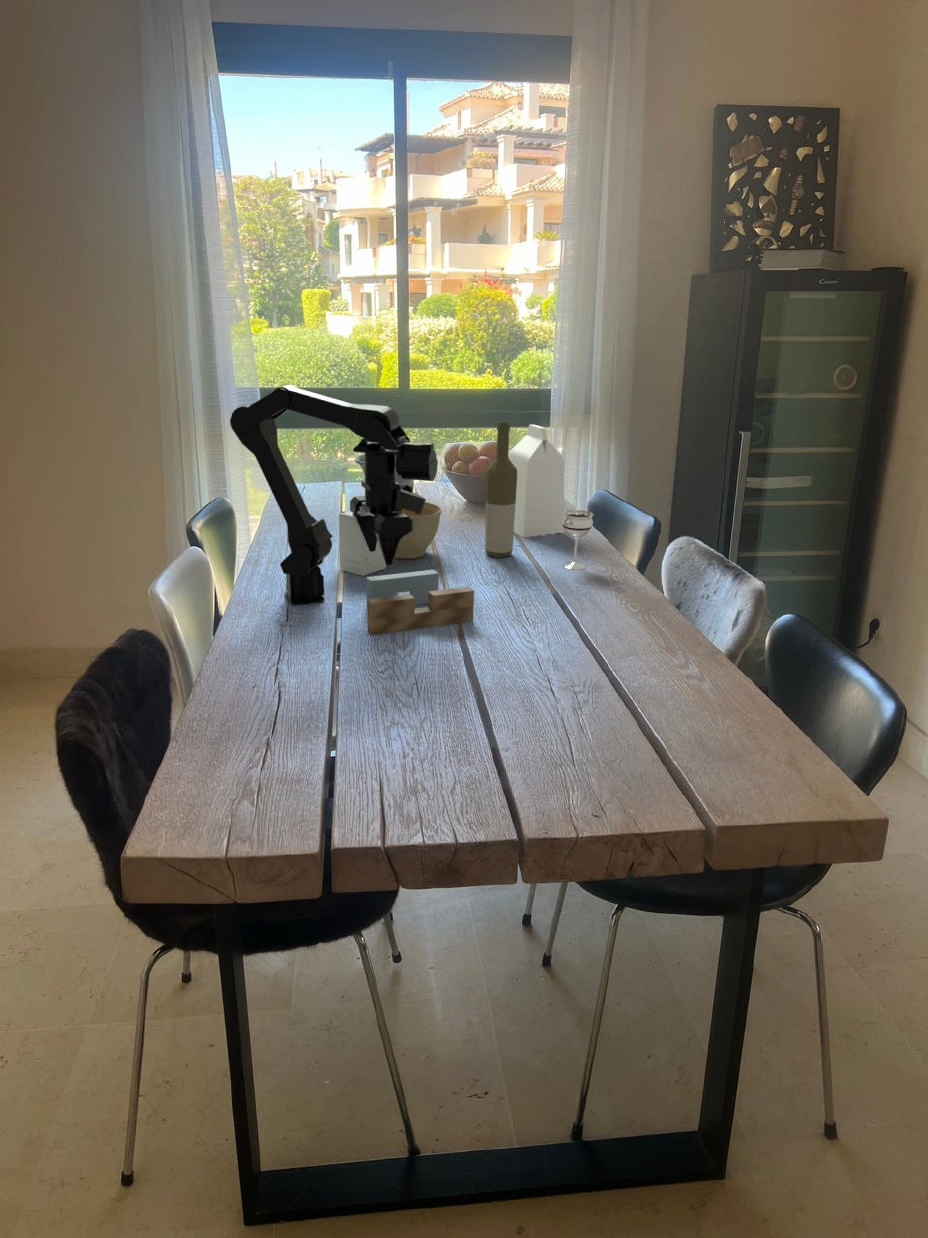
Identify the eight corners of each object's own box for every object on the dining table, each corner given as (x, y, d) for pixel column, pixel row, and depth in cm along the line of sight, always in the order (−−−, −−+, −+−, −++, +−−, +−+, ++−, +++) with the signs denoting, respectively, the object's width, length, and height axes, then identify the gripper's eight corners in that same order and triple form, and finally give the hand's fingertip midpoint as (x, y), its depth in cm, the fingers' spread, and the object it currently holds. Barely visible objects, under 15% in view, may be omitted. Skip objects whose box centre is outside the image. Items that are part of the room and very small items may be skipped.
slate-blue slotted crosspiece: (371, 610, 181) (370, 581, 179) (366, 606, 183) (366, 577, 181) (438, 602, 187) (438, 573, 184) (433, 598, 189) (433, 569, 187)
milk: (501, 525, 243) (505, 423, 233) (540, 521, 247) (545, 421, 238) (523, 537, 233) (528, 431, 223) (563, 533, 237) (570, 429, 228)
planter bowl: (431, 566, 208) (432, 518, 205) (361, 560, 211) (360, 513, 207) (447, 547, 223) (448, 501, 219) (381, 541, 226) (381, 497, 222)
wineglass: (589, 562, 214) (593, 510, 210) (590, 571, 208) (594, 518, 204) (559, 560, 215) (562, 509, 210) (559, 569, 208) (562, 516, 204)
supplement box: (363, 576, 200) (363, 519, 196) (338, 570, 205) (337, 513, 200) (387, 569, 206) (386, 512, 201) (362, 562, 210) (361, 506, 206)
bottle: (514, 559, 215) (520, 426, 204) (483, 558, 215) (487, 425, 204) (513, 550, 222) (519, 421, 211) (483, 549, 222) (487, 420, 211)
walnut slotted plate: (372, 635, 169) (371, 603, 167) (367, 630, 171) (367, 599, 169) (473, 620, 177) (474, 590, 175) (467, 616, 179) (468, 586, 177)
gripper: (440, 484, 169) (438, 567, 175) (402, 464, 185) (402, 541, 191) (381, 488, 165) (382, 573, 171) (348, 467, 181) (349, 546, 186)
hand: (380, 557), depth 180 cm, fingers open, 9 cm apart
